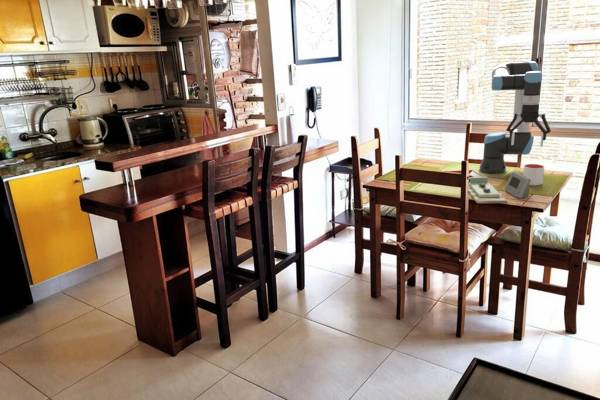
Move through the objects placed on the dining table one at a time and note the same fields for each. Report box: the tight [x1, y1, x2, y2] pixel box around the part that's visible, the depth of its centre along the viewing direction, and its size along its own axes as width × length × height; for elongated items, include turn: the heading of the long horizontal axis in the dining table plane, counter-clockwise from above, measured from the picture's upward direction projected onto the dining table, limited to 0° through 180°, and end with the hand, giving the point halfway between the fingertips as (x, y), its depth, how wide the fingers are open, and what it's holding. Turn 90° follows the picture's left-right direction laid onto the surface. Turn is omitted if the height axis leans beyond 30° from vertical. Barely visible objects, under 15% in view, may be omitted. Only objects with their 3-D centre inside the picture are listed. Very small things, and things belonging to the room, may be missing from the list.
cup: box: [522, 163, 545, 187], centre depth 250 cm, size 10×10×10 cm
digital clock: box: [504, 171, 531, 199], centre depth 233 cm, size 16×9×11 cm, turn 172°
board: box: [468, 183, 508, 204], centre depth 237 cm, size 29×14×4 cm, turn 173°
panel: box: [468, 176, 501, 197], centre depth 239 cm, size 22×10×4 cm, turn 173°
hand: (526, 145), depth 233 cm, fingers open, 13 cm apart
